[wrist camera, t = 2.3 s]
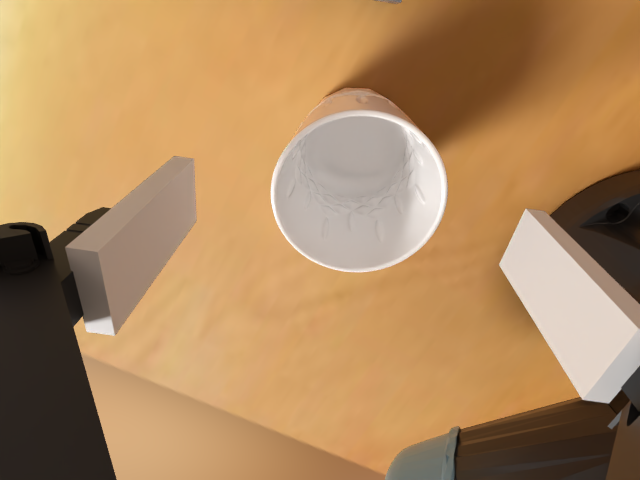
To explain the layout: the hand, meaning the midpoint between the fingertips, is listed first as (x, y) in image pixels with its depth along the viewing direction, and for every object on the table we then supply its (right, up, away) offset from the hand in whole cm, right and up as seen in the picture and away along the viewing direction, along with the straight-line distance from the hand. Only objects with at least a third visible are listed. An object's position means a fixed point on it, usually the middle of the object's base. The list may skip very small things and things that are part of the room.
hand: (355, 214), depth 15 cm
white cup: (+1, +6, +11) cm, 12 cm away
